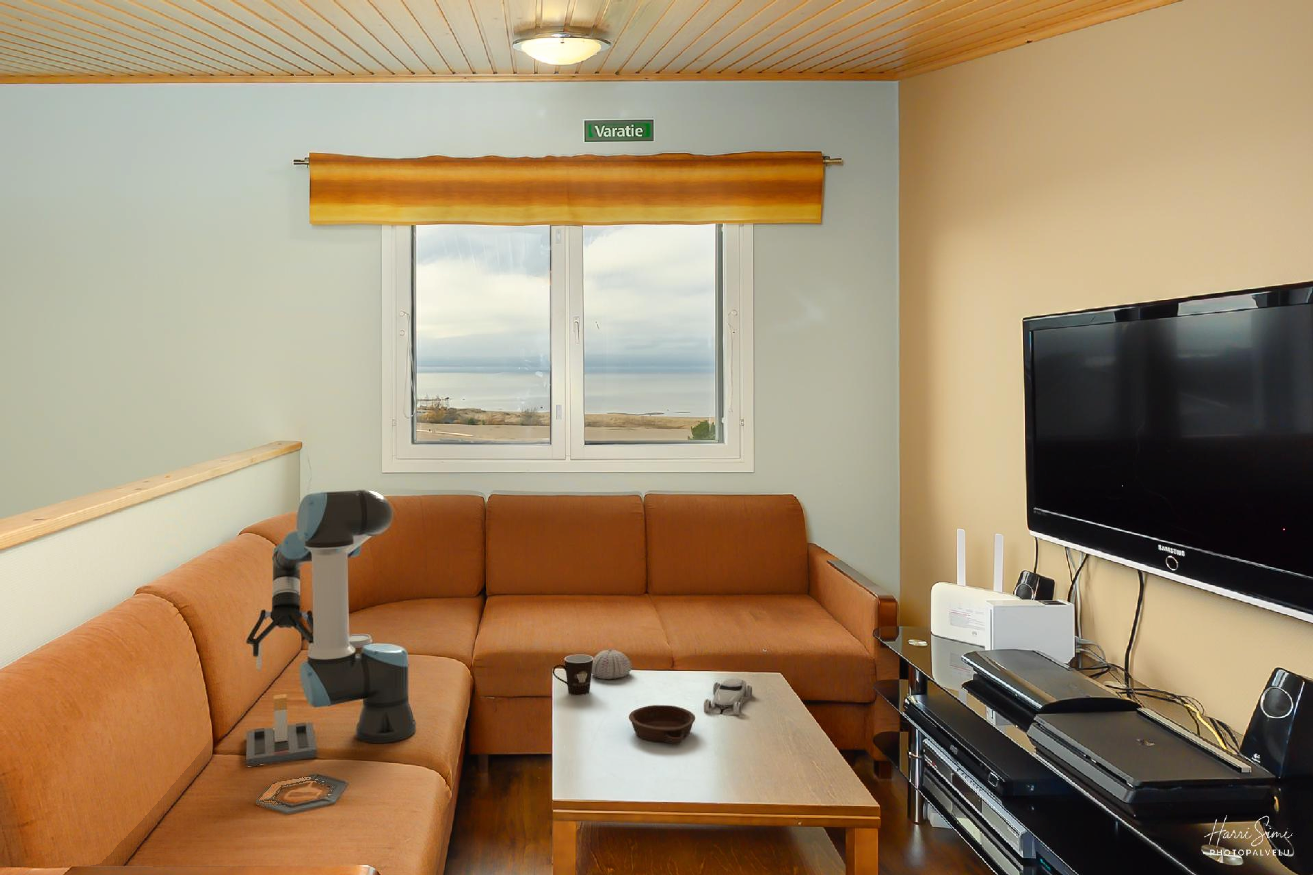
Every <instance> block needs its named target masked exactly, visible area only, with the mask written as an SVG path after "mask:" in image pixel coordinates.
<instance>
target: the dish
mask: <svg viewBox="0 0 1313 875" xmlns="http://www.w3.org/2000/svg"><path fill="white" fill-rule="evenodd" d="M628 720H629V721H630V722H631V726H632V728H633V730H634V733H635V734H636V735H637V736H638V737H639V738H641V739H644V740H647V741H652V742H663V743H664V742H666V743H669V744H672V745H679V744H681V743H682V742H683V739H685V738H686V737H687V736H688V735H689V734H690V732H691V730H692V728H693V724H694V723H695V722H696V715H695V714H694V713H693V712H692V711H690V710H688V709H686V708H684V707H680V706H676V705H666V704H665V705H663V704H662V705H661V704H660V705H659V704H652V705H646V706H642V707H640V708H636V709H635V710H633V711H631V712H630V713H629V714H628Z"/></svg>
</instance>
